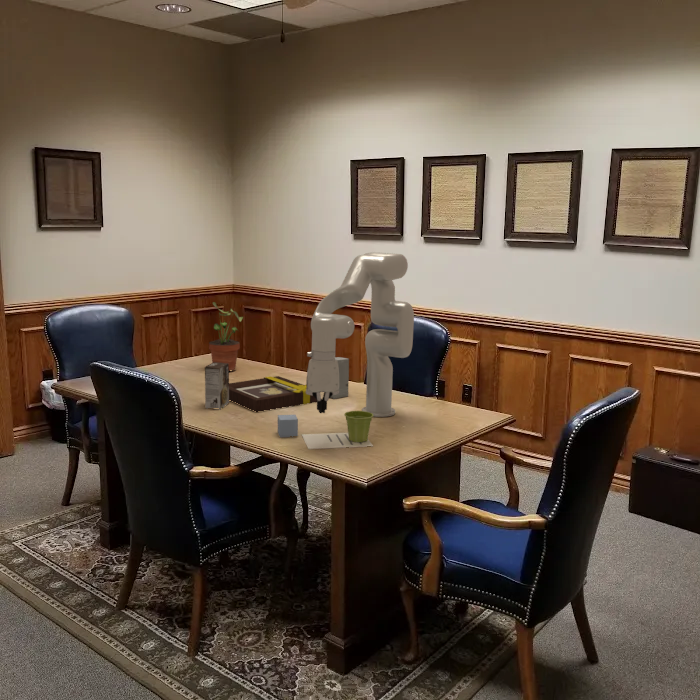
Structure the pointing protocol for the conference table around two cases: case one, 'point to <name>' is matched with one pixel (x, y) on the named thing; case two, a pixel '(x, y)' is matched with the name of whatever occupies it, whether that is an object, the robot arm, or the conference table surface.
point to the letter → (332, 441)
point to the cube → (287, 425)
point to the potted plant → (225, 344)
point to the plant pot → (358, 425)
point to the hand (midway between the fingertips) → (321, 412)
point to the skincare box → (342, 377)
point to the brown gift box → (269, 393)
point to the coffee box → (216, 385)
